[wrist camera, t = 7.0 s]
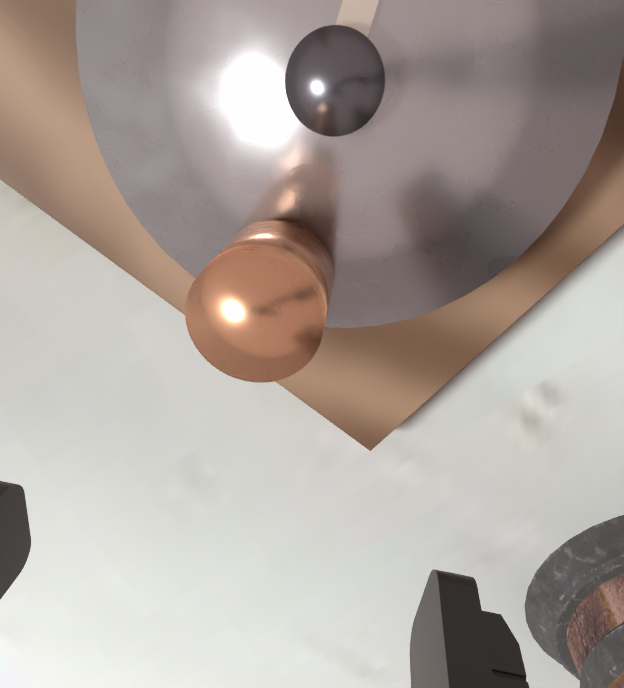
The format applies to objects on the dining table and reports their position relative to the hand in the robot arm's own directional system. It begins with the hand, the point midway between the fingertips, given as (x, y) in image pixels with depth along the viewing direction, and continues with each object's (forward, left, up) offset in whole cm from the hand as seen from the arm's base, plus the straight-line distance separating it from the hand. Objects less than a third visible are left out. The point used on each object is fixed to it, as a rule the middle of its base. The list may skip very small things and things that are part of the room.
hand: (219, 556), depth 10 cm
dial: (-7, -4, -17) cm, 19 cm away
